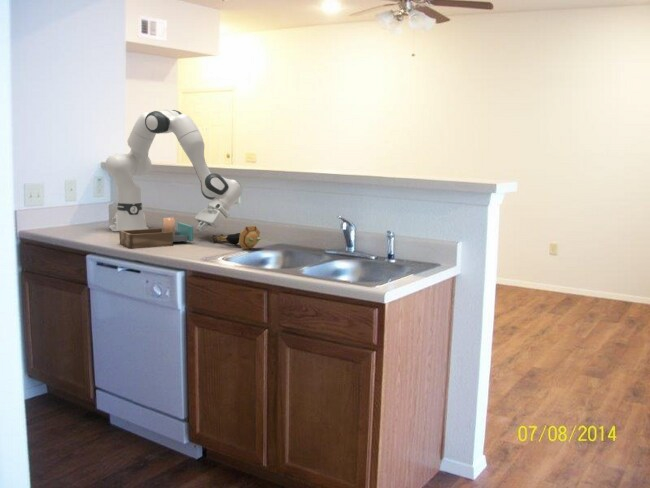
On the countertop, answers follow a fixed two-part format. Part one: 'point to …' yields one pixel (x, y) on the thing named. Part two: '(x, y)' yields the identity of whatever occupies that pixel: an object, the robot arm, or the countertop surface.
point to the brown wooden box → (145, 238)
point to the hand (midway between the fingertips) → (198, 230)
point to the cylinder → (169, 225)
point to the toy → (241, 237)
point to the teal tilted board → (183, 233)
